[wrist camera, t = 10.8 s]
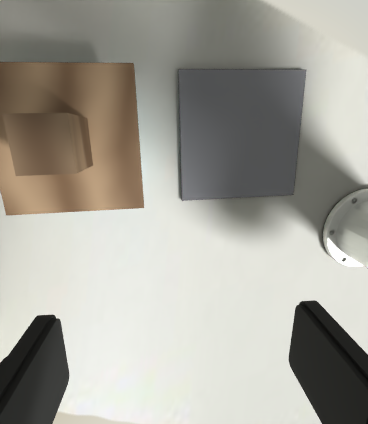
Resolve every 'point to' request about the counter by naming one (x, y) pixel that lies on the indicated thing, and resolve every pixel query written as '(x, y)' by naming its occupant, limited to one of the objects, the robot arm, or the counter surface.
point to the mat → (239, 132)
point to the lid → (69, 137)
